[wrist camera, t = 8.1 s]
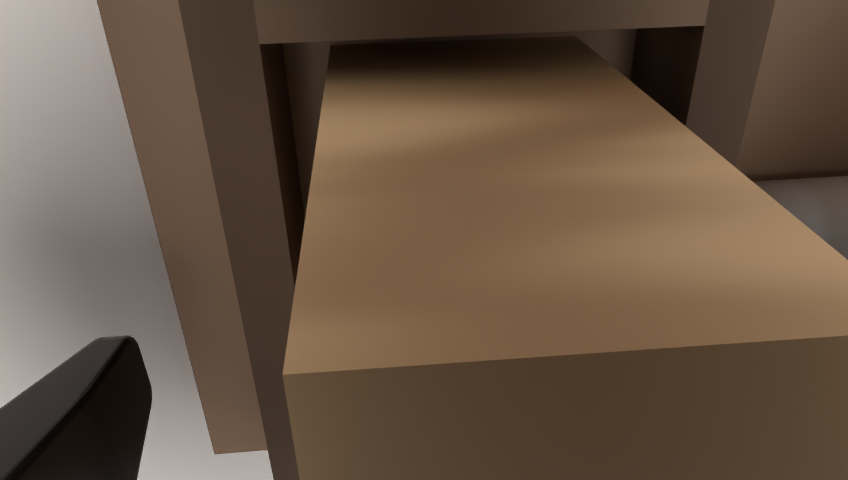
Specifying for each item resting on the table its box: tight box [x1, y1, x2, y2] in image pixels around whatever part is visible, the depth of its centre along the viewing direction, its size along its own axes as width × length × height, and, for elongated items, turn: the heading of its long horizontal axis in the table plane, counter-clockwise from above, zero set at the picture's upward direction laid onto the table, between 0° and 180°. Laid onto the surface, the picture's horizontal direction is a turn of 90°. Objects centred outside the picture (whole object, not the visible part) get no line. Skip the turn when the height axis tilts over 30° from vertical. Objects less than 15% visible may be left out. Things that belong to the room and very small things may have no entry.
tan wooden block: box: [282, 36, 848, 480], centre depth 8 cm, size 4×6×7 cm, turn 1°
